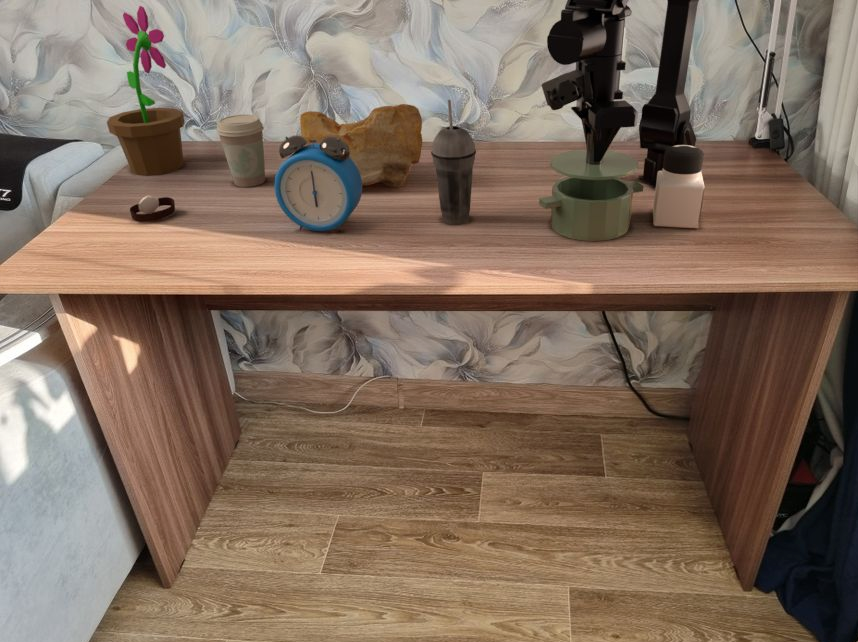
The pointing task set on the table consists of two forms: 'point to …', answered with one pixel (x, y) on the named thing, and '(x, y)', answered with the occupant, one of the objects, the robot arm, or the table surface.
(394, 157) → the rough brown rock
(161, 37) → the flowerpot
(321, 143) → the alarm clock
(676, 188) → the medicine bottle
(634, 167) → the lid
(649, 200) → the table surface
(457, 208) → the beverage cup
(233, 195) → the table surface
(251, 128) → the coffee cup
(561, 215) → the cooking pot
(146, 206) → the watch
